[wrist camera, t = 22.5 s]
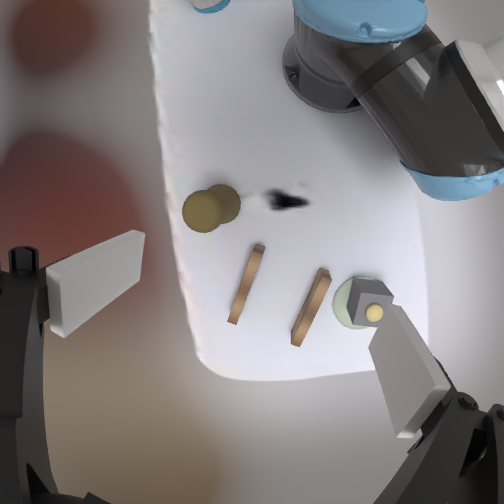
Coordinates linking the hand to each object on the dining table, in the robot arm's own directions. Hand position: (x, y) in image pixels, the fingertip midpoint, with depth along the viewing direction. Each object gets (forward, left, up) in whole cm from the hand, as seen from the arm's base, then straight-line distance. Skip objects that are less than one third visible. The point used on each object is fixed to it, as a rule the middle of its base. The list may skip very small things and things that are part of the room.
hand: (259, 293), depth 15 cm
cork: (+2, -9, -31) cm, 32 cm away
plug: (+7, +17, -29) cm, 34 cm away
